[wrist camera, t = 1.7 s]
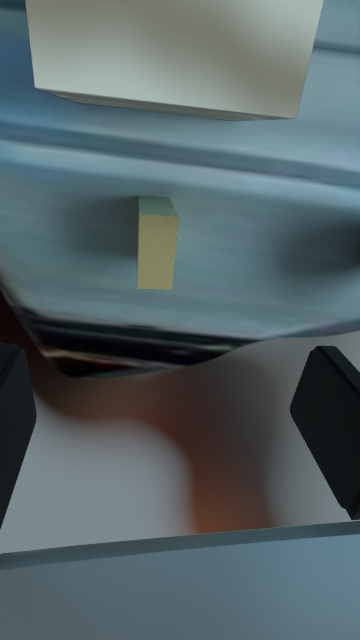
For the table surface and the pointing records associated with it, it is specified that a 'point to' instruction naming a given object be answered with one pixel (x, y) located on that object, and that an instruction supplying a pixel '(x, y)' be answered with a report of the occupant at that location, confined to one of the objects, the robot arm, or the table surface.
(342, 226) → the table surface
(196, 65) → the box
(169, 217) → the yellow flat block
